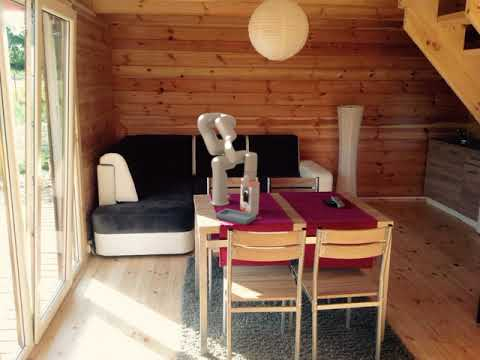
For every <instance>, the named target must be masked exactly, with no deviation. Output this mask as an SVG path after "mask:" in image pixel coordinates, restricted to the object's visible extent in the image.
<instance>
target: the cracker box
mask: <svg viewBox="0 0 480 360" xmlns="http://www.w3.org/2000/svg"><path fill="white" fill-rule="evenodd" d="M243 178H244V177H241V178H240V200H239V203H240V204H239V206H240V207H239V210H241V212H245V213H250V214H255V215H256V216H258V215H259V210H260V207H259V206H260V188H261V187H260V181H257V180H256V181H255V180H254V181H251V182H249V192H248V202H243V194H242V186H243ZM246 191H248V190H246ZM246 194H247V192H246Z"/></svg>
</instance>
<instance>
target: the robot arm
mask: <svg viewBox="0 0 480 360" xmlns="http://www.w3.org/2000/svg"><path fill="white" fill-rule="evenodd" d="M236 125H237V121H236V118H235V117H234V116H233V115H231V114H226V113H222V112H206V113H203V114H202V113H201V115H199V116H198V119H197V129H198V131H199V133H200V134H201V136H202V138H203V140H204V144H205V146H206V149H207V151H208V153H209V154H210V155H211V156H215V157H213V158H212V160H211V162H210V163H211V169H212V194H211V195H212V199H211V200H210V201H209V203H210V204H211V205H212V206H219V207H221V206H227V205H229V204H230V201H229V200H228V199H229V198H231V196H230V194H228V175H227V172H226V171H227V170H230V169H234V168H235V167H236V165H238V164H244V170H243V171H244V172H243V177H242V178H243V186H242V194H243V202H248V192H249V182H251V181H254V180H255V181H257V174H258V173H257V172H258V171H257V170H258V154H257V152H252V151H249V150H243V149H242V150H238V151H237V150H235V148H234V146H233V144H232V143H233V141H235V139H236V138H237V133H236V131H235V129H234V128H236ZM212 127H216V129H217V130H218V132H219V134H220V135H221V137H222V139H219V138H218V137H217V133H216V132H215V130H214V129H212ZM216 155H217V156H216ZM246 190H248V191H246ZM246 192H247V194H246Z"/></svg>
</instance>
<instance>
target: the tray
mask: <svg viewBox="0 0 480 360" xmlns="http://www.w3.org/2000/svg"><path fill="white" fill-rule="evenodd" d="M256 218H257V215H255V214H250V213H245V212H244V211H242V210H241V211H239V210H235V209H232V208H231V209H230V208H224V209H221V210H220V211H217V212H216V213H215V219H219V220H223V221H228V222H230V223H231V222H232V223H234V224H235V223H236V224H240V225H244V226H247V225H249V224H250V223H252V222H254V221H256V220H257V219H256Z"/></svg>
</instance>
